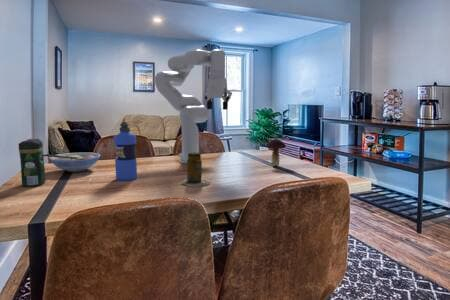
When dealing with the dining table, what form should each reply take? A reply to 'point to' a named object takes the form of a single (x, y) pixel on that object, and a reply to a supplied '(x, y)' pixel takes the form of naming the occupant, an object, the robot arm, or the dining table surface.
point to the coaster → (196, 184)
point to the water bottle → (125, 154)
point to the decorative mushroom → (275, 150)
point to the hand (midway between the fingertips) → (217, 109)
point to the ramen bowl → (74, 161)
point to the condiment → (194, 169)
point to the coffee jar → (32, 162)
